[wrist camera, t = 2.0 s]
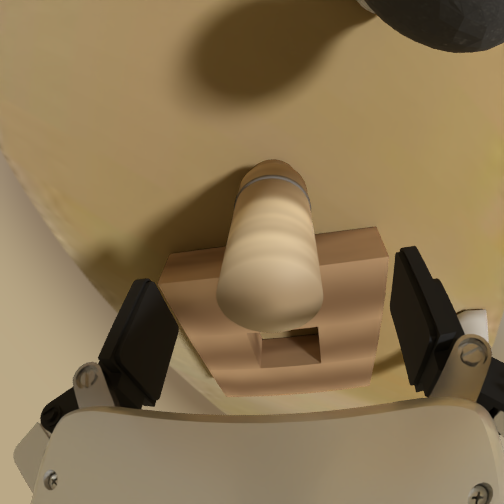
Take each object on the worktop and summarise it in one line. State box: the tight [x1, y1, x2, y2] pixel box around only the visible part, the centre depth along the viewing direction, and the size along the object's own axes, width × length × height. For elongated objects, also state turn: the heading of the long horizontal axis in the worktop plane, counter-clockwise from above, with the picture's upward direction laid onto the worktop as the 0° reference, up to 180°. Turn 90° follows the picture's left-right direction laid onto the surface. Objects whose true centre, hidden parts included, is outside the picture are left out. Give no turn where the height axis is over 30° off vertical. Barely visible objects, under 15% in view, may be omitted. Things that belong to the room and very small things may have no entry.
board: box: [158, 227, 389, 397], centre depth 23 cm, size 16×14×3 cm
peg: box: [216, 160, 323, 333], centre depth 14 cm, size 4×4×9 cm
